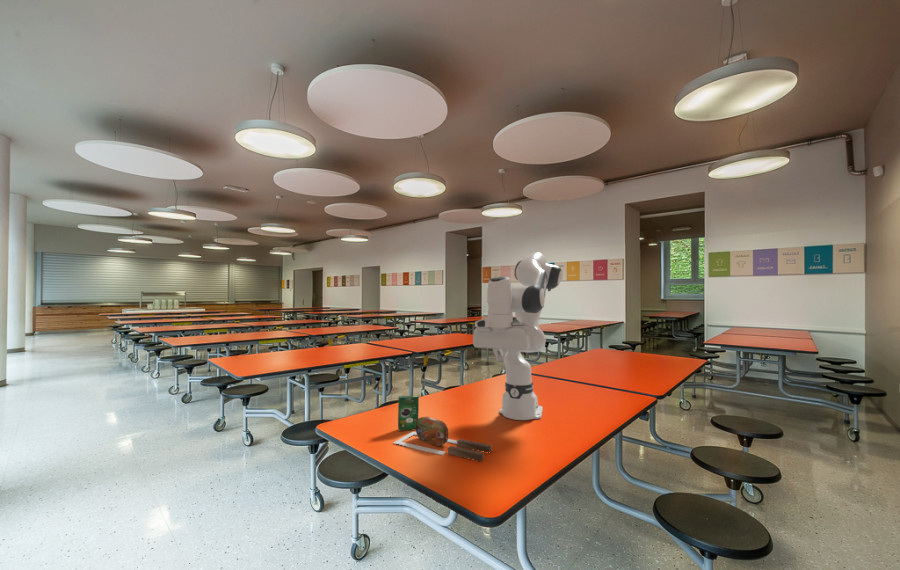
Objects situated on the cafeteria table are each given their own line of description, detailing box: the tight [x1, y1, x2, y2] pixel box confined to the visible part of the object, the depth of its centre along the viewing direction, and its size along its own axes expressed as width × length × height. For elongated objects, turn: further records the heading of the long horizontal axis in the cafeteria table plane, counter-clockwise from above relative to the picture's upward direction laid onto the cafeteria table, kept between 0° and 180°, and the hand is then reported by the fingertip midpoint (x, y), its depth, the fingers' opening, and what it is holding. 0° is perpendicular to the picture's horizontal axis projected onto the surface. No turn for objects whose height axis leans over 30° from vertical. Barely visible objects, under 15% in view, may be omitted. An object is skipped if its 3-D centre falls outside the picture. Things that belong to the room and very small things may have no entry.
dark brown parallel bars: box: [447, 438, 492, 462], centre depth 115 cm, size 8×12×2 cm
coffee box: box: [397, 394, 420, 431], centre depth 138 cm, size 8×3×13 cm, turn 104°
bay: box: [393, 431, 457, 456], centre depth 124 cm, size 12×20×1 cm, turn 61°
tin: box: [415, 416, 449, 447], centre depth 124 cm, size 15×3×8 cm, turn 47°
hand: (501, 361), depth 121 cm, fingers closed
